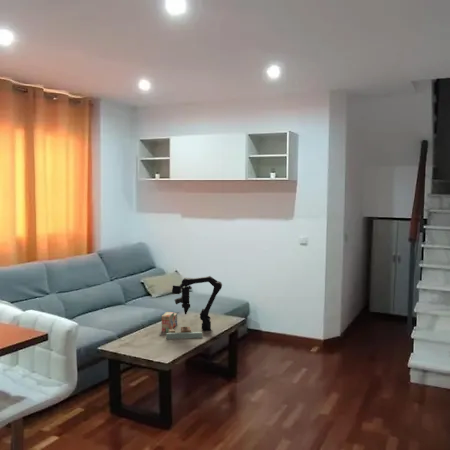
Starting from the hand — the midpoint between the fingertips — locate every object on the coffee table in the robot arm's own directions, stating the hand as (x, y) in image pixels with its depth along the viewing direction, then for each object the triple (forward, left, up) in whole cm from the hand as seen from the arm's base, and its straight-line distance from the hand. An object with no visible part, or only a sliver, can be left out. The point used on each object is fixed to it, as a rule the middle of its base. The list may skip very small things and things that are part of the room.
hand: (185, 314), depth 379 cm
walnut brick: (0, +15, -12) cm, 19 cm away
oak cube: (+11, +15, -12) cm, 22 cm away
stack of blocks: (+12, -5, -12) cm, 18 cm away
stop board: (+2, +21, -12) cm, 25 cm away
